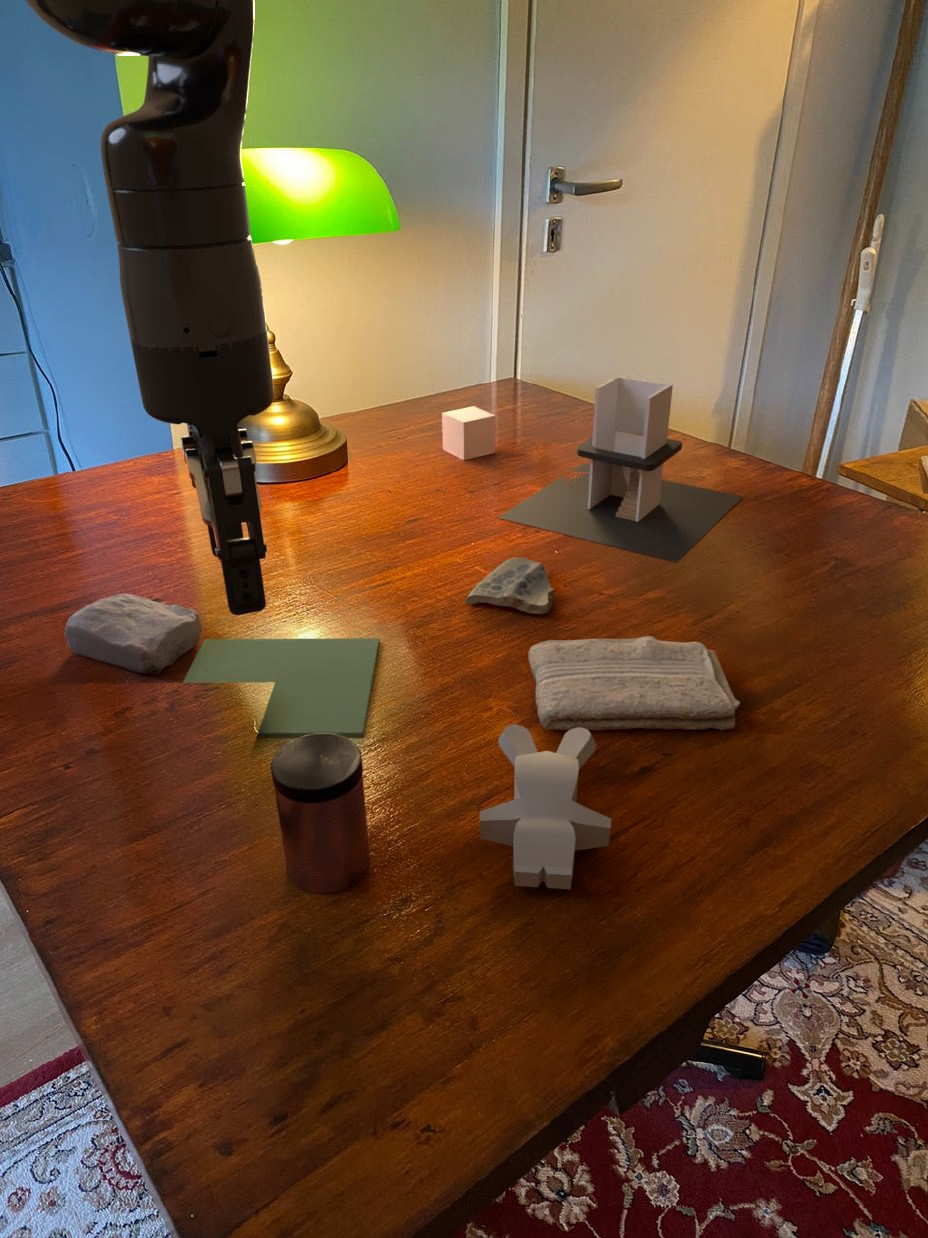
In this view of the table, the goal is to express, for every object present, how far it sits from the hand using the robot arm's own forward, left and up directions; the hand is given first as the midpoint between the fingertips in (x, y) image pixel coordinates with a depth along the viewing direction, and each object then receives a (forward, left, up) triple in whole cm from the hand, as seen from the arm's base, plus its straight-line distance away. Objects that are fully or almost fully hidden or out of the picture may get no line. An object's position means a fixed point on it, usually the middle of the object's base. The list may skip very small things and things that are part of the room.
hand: (238, 581), depth 59 cm
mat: (-3, +19, -21) cm, 29 cm away
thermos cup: (+5, -4, -21) cm, 22 cm away
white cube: (+15, +85, -21) cm, 89 cm away
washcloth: (+30, +17, -21) cm, 40 cm away
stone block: (-19, +27, -21) cm, 39 cm away
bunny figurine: (+21, 0, -21) cm, 30 cm away
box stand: (+36, +62, -21) cm, 75 cm away
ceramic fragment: (+21, +37, -21) cm, 47 cm away
